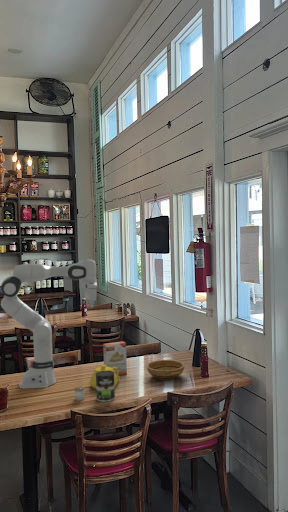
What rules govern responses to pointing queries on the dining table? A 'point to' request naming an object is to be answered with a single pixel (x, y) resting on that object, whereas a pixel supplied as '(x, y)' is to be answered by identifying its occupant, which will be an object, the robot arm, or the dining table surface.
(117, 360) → the cracker box
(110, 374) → the coffee can
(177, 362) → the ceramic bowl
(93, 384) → the teapot
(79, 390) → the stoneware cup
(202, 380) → the dining table surface
